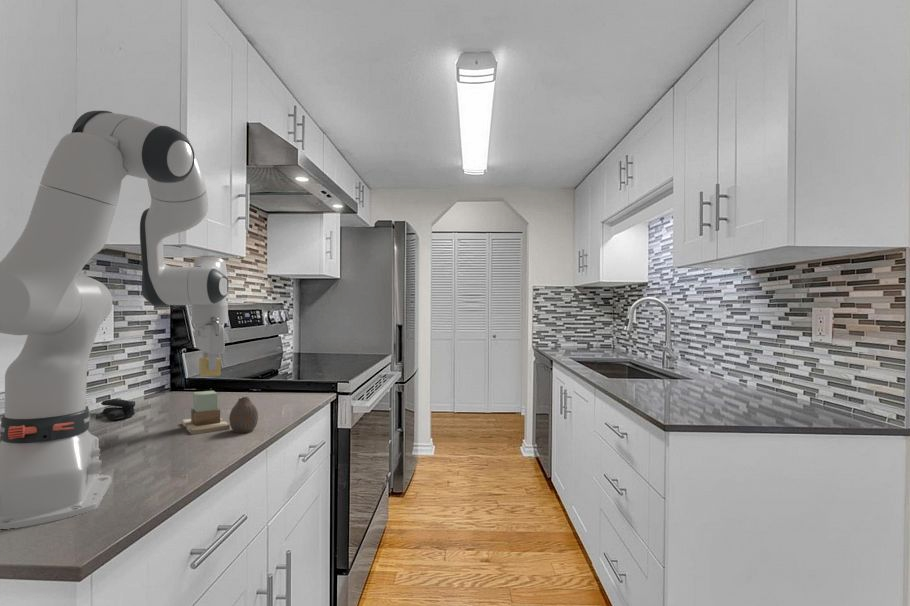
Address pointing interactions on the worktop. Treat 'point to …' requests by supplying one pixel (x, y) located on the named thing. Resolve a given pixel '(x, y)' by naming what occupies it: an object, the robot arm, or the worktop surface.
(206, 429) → the board
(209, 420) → the walnut brick
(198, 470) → the worktop surface
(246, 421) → the vase
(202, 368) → the ochre brick
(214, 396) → the sage brick
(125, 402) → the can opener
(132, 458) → the worktop surface
